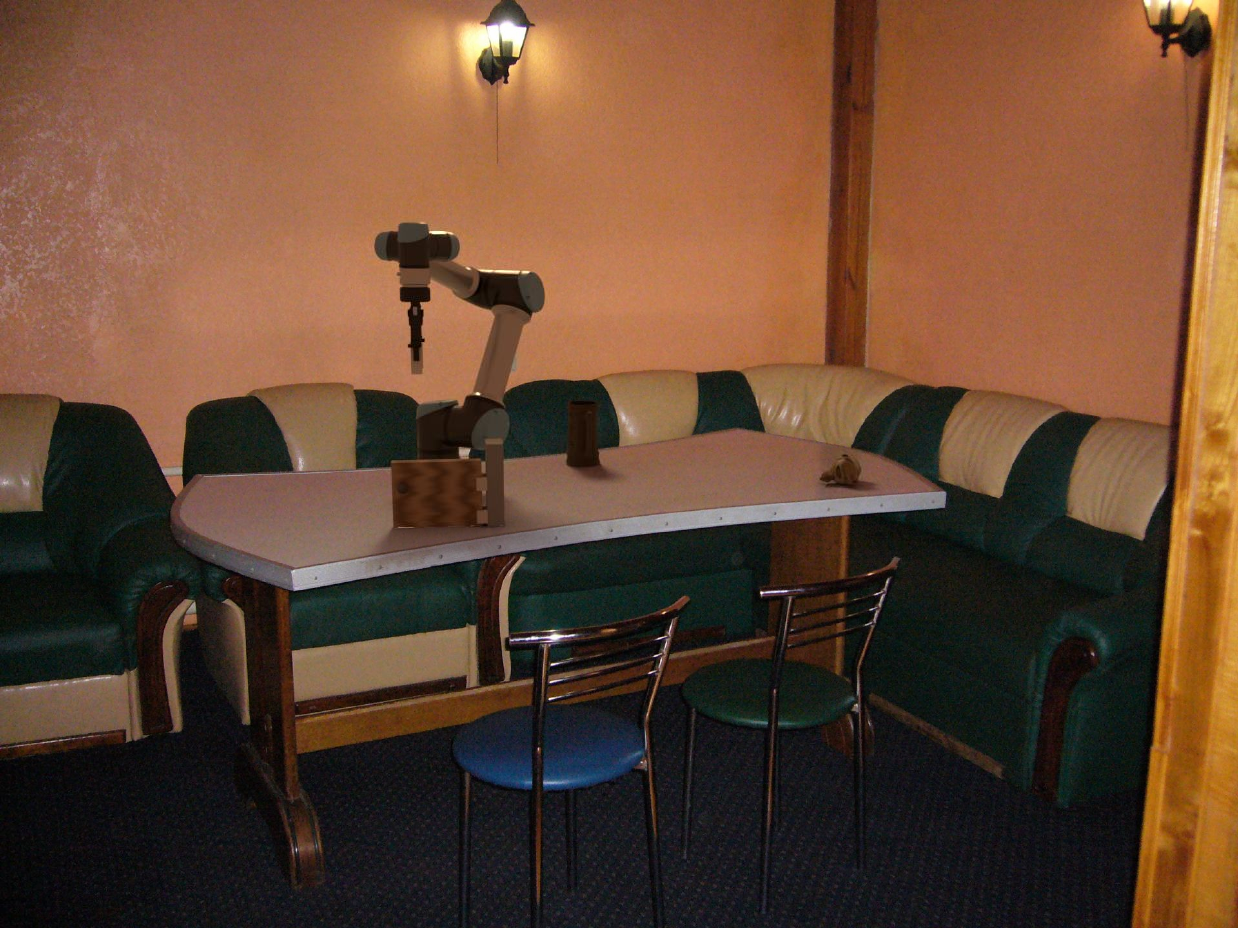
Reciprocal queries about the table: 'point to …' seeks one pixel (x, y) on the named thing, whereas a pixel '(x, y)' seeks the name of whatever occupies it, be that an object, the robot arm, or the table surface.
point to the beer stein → (582, 434)
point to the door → (435, 492)
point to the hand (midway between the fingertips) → (417, 371)
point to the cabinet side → (492, 484)
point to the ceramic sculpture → (843, 470)
